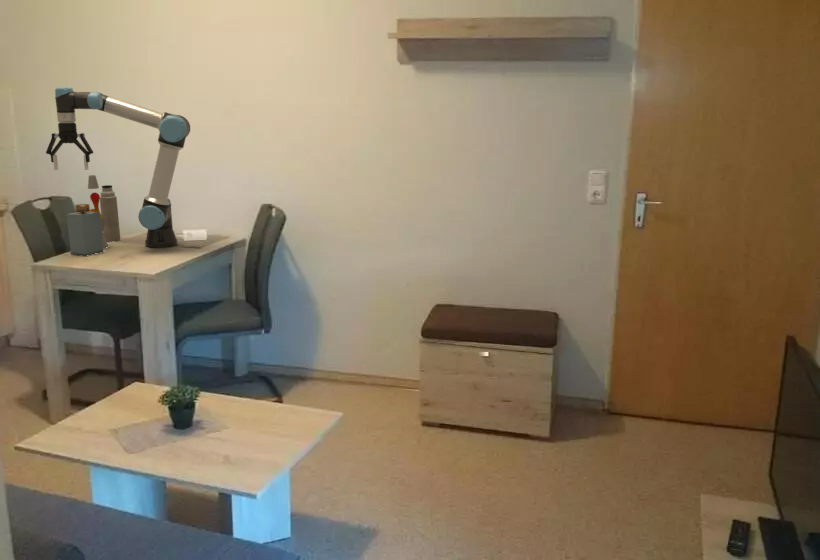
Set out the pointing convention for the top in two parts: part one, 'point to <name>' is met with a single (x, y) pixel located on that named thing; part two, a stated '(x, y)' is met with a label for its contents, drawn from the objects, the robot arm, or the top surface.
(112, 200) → the thermos bottle
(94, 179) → the lava lamp
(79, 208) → the plunger
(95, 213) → the grey utensil holder
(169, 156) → the robot arm
